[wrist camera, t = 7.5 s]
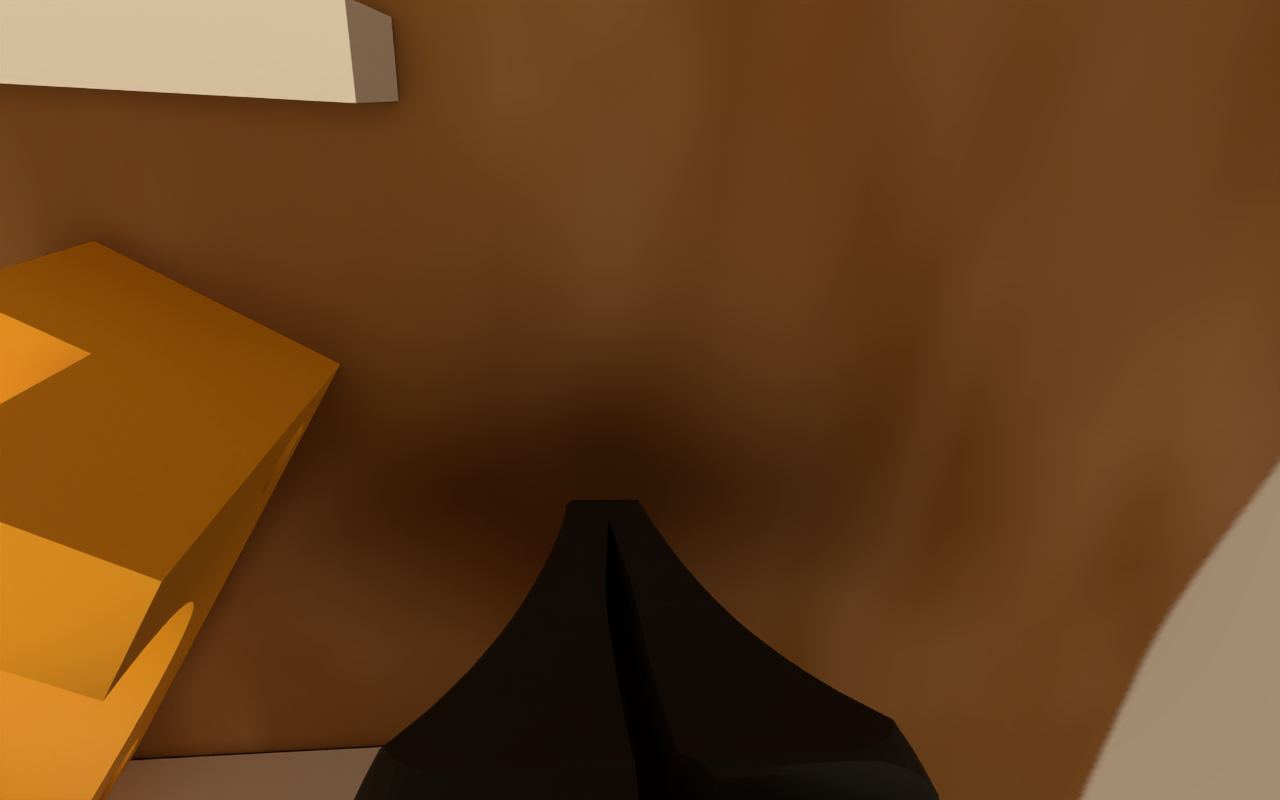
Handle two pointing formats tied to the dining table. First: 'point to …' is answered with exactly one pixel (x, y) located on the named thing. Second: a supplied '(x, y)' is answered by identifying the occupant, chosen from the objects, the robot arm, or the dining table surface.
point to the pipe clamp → (122, 497)
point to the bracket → (227, 66)
